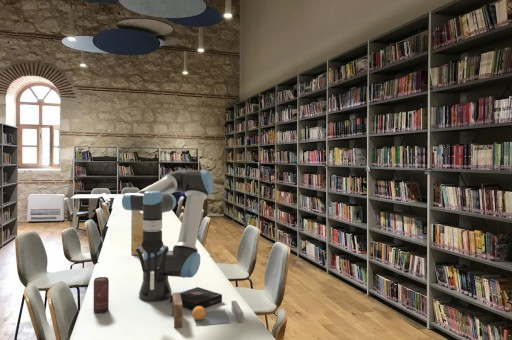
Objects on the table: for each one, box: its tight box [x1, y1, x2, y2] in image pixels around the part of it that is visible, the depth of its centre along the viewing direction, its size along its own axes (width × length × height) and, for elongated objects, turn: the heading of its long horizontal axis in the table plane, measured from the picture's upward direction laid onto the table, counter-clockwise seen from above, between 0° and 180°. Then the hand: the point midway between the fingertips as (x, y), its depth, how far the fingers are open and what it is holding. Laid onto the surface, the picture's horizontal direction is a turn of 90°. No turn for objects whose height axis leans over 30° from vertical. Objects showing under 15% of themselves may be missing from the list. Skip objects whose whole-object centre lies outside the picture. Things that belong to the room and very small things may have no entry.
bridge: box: [171, 292, 183, 329], centre depth 169 cm, size 3×14×9 cm, turn 15°
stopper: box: [231, 300, 244, 323], centre depth 175 cm, size 14×2×4 cm, turn 15°
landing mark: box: [193, 309, 231, 327], centre depth 173 cm, size 14×14×1 cm
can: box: [93, 276, 110, 314], centre depth 178 cm, size 6×6×14 cm
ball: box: [191, 306, 206, 320], centre depth 170 cm, size 6×6×6 cm
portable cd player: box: [169, 286, 223, 311], centre depth 191 cm, size 16×17×4 cm
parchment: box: [130, 211, 145, 256], centre depth 273 cm, size 23×6×30 cm, turn 43°
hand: (152, 288), depth 166 cm, fingers closed
